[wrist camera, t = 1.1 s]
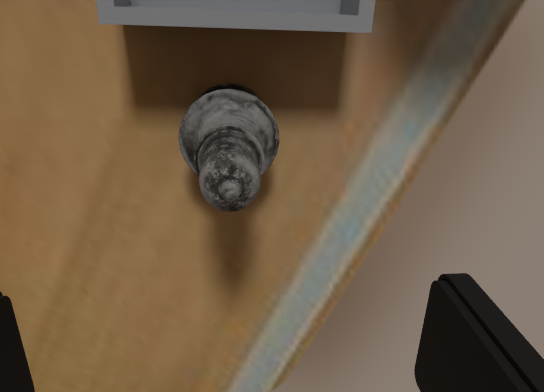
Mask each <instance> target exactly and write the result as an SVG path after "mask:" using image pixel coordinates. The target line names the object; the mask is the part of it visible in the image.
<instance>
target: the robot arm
mask: <svg viewBox="0 0 544 392" xmlns="http://www.w3.org/2000/svg"><path fill="white" fill-rule="evenodd" d="M415 378H416V383H417V385H418V387H419V389H420V391H421V392H544V359H543V358H542V357H541V356H540V355H539V354H538V352H537V351H536V350H535V349H534V348H533V347H532V345H531V344H530V343H529V342H528V341H527V340H526V339H525V338H524V336H523V335H522V334H521V333H520V332H519V331H518V330H517V328H515V326H514V325H513V324H512V323H511V322H510V320H509V319H508V318H507V317H506V316H505V315H504V314H503V312H502V311H501V310H500V309H499V308H498V307H497V306H496V304H495V303H494V302H493V301H492V300H491V299H490V298H489V297H488V295H487V294H486V293H485V292H484V291H483V290H482V288H481V287H480V286H479V285H478V284H477V283H476V282H475V280H473V278H472V277H471V276H470V275H468V274H466V273H461V274H442V275H440V277H439V278H438V281H433V283H432V285H431V288H430V293H429V298H428V303H427V308H426V314H425V318H424V324H423V329H422V334H421V339H420V344H419V349H418V354H417V359H416V364H415ZM0 392H35V390H34V385H33V381H32V378H31V374H30V370H29V367H28V363H27V359H26V355H25V352H24V348H23V344H22V340H21V337H20V333H19V329H18V326H17V322H16V318H15V314H14V311H13V307H12V303H11V300H10V298H9V297H7V296H3V295H2V293H1V292H0Z"/></svg>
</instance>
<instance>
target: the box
mask: <svg viewBox="0 0 544 392" xmlns="http://www.w3.org/2000/svg"><path fill="white" fill-rule="evenodd" d="M96 3H97V12H98V20H99V24H119V25H149V26H179V27H208V28H238V29H268V30H298V31H328V32H357V33H372V25H373V16H374V8H375V0H96Z"/></svg>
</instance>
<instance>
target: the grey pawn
mask: <svg viewBox="0 0 544 392" xmlns="http://www.w3.org/2000/svg"><path fill="white" fill-rule="evenodd" d="M179 144H180V150H181V153H182V155H183V157H184V159H185V162H186V163H187V164H188V165H189V167H190V168H191V169H192V170H193V172H195V173H196V174H197V175H198V176H199V187H200V190H201V193H202V195H203V197H204V198H205V200H206V201H207V202H208V203H209V204H210V205H211V206H213V207H214V208H216V209H219V210H221V211H227V212H232V211H238V210H241V209H244V208H245V207H247V206H248V205H250V204H251V203H252V202H253V200H254V199H255V198H256V196H257V194H258V192H259V189H260V184H261V177H260V176H261V175H262V174H263V173H264V172H265V171H266V170H267V169H268V168H269V167H270V166H271V164H272V162H273V160H274V158H275V156H276V154H277V150H278V145H279V129H278V126H277V123H276V120H275V117H274V116H273V114H272V113H271V111H270V110H269V108H268V107H267V106H266V105H265V104H264V103H263V102H262V101H261V99H260V98H259V97H258V96H257V95H256V94H255V93H253V92H252V91H251V90H249V89H247V88H245V87H243V86H239V85H234V84H222V85H218V86H215V87H212V88H209V89H208V90H207V91H205V92H204V93H202V94H201V95H200V96H199V97H198V99H197V100H196V101H195V102H193V104H192V105H191V106H190V107H189V109H188V110H187V111H186V112H185V115H184V117H183V119H182V122H181V124H180V130H179Z"/></svg>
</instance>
